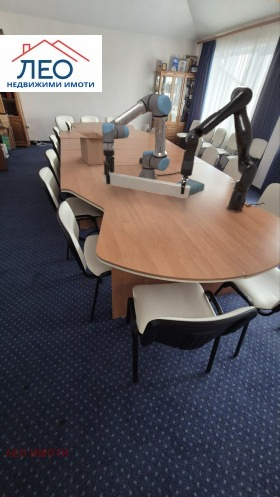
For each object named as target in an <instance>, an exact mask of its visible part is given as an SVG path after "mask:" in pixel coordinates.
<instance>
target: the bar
mask: <svg viewBox="0 0 280 497" xmlns="http://www.w3.org/2000/svg"><path fill="white" fill-rule="evenodd" d="M109 175H110V184H108V185H110V186H114V187H121V188H126V189H132V190H137V191H143V192H148V193H153V194H157V195H158V194H159V195H163V196H164V195H165V196H170V197H175V198H181V199H189V197H190V195H189V191H190V186H189V185H186V186H185V191H184V194H181V184H177V182H171V181H165V180H158V179H147V178H141V177H139V176H135V175H128V174H123V173H118V172H114V173H112V172H110V171H109ZM102 179H103V180H102V181H103V185H104V184H105V185H107V184H106V175H104V172H103V174H102ZM182 187H184V186H182Z"/></svg>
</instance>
